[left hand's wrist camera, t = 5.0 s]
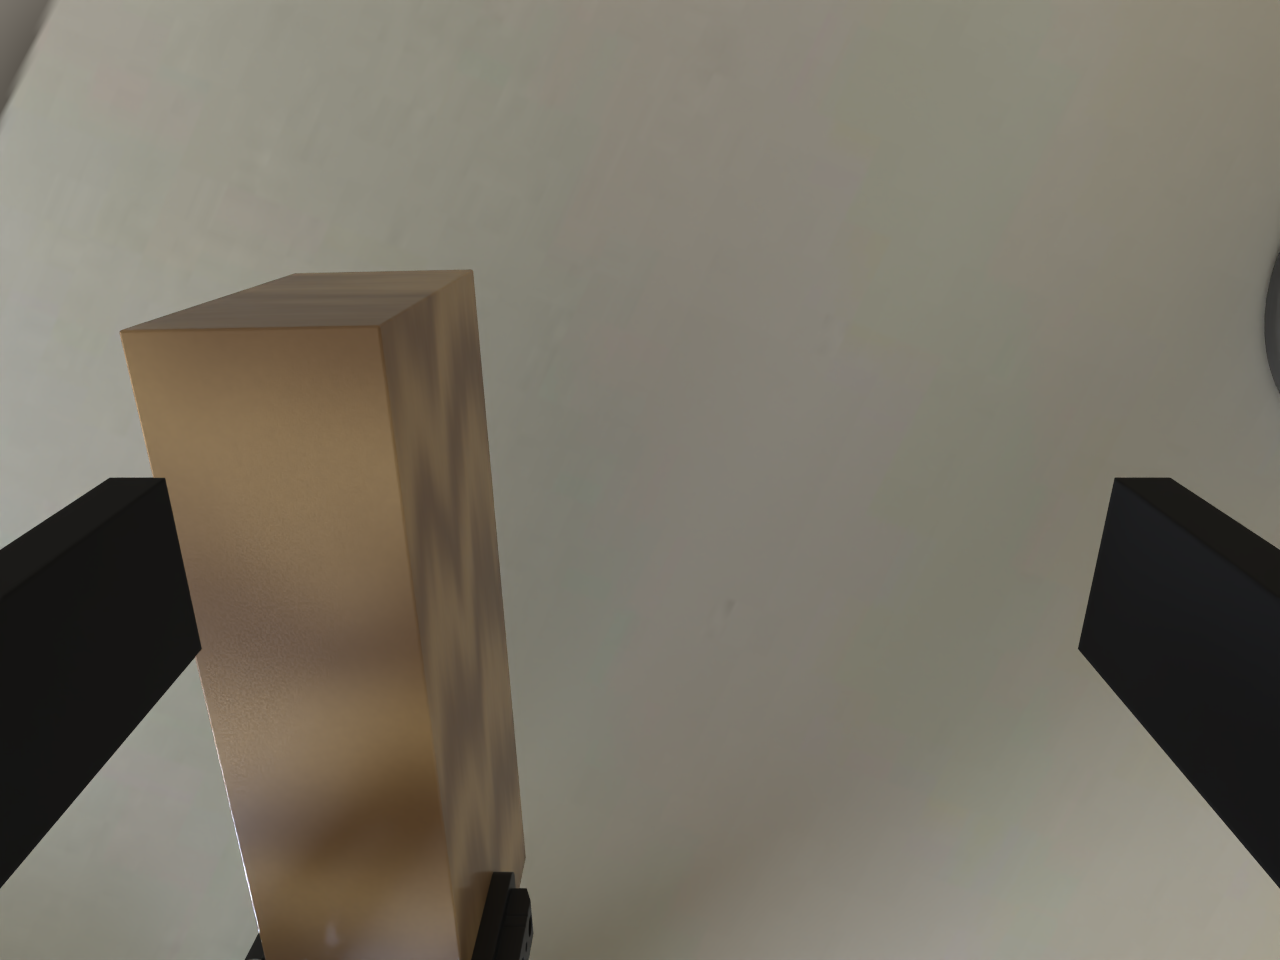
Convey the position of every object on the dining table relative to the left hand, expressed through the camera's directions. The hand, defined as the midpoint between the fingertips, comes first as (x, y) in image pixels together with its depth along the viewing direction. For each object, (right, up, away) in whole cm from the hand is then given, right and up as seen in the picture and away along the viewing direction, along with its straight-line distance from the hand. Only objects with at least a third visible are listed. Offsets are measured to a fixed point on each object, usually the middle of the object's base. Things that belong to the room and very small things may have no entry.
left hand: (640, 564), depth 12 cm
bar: (-8, -3, +19) cm, 21 cm away
